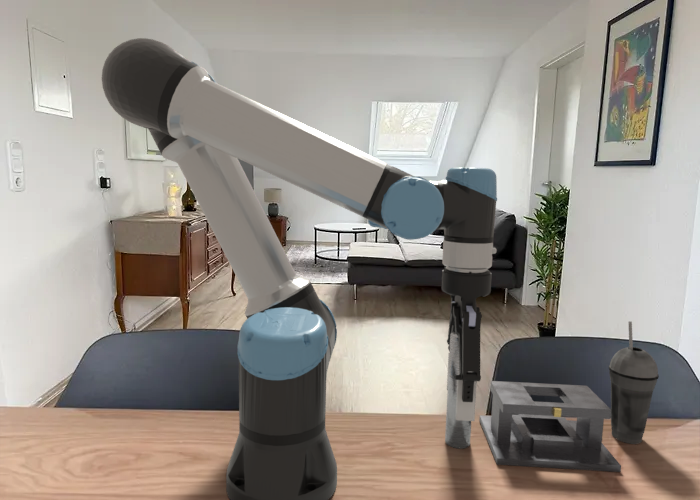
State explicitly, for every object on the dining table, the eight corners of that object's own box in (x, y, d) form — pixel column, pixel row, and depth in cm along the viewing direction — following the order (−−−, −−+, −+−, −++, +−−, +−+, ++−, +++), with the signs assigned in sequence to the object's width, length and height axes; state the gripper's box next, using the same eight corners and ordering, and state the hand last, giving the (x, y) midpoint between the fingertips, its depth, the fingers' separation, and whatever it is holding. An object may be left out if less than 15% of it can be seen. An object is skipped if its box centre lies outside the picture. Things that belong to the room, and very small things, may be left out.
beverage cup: (659, 451, 79) (672, 330, 76) (610, 445, 80) (621, 326, 78) (641, 429, 86) (653, 318, 83) (597, 424, 87) (607, 315, 85)
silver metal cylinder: (446, 447, 78) (452, 338, 76) (443, 435, 82) (448, 331, 80) (473, 449, 78) (479, 339, 76) (469, 436, 82) (475, 332, 80)
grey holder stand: (496, 464, 74) (500, 410, 73) (479, 420, 88) (482, 375, 87) (620, 472, 73) (626, 417, 71) (583, 426, 86) (587, 380, 85)
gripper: (509, 283, 65) (499, 441, 68) (477, 258, 87) (471, 378, 90) (452, 281, 65) (444, 437, 68) (435, 257, 88) (429, 376, 91)
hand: (459, 403), depth 79 cm, fingers open, 10 cm apart
